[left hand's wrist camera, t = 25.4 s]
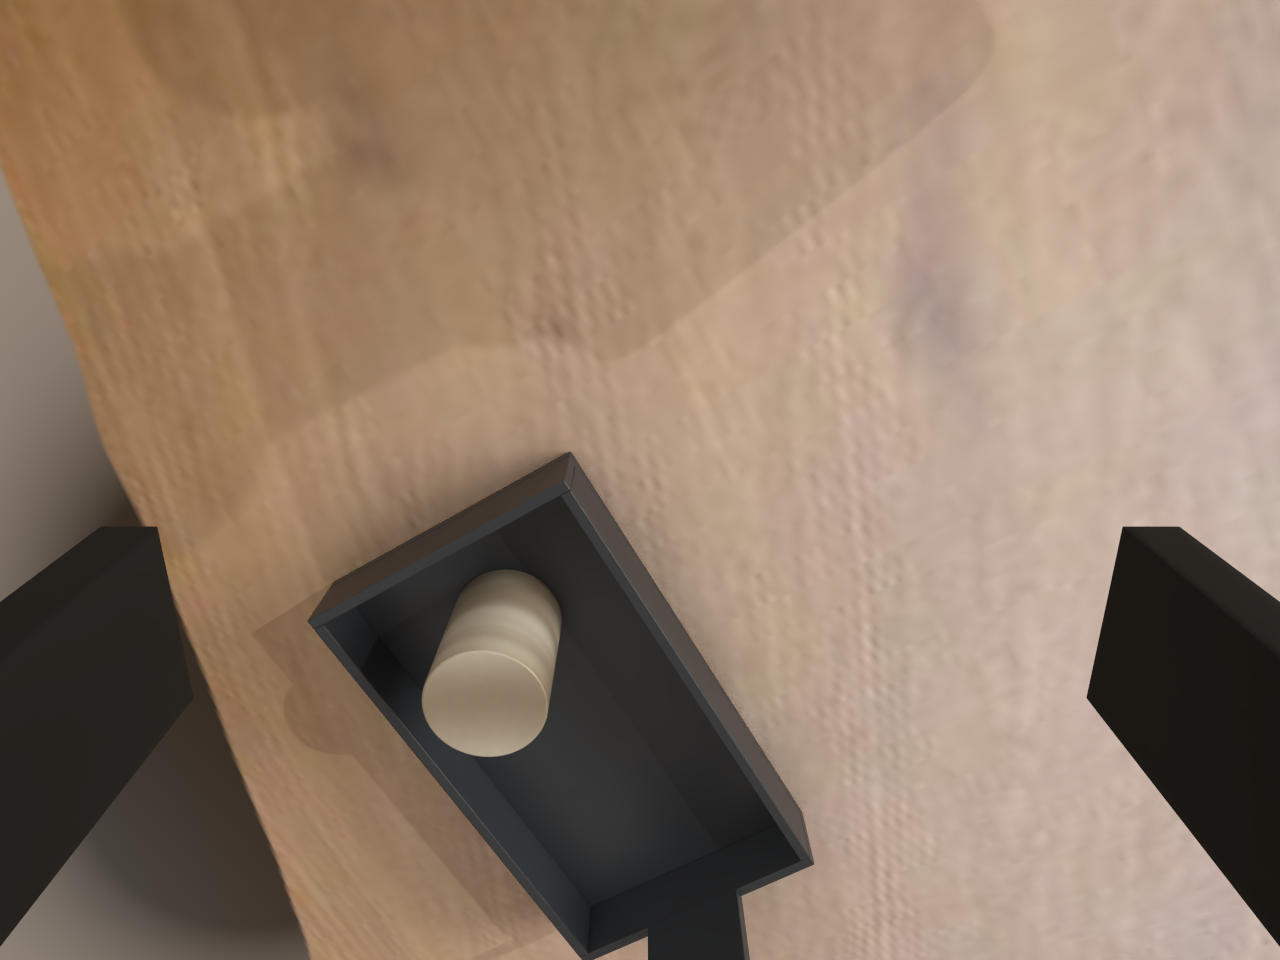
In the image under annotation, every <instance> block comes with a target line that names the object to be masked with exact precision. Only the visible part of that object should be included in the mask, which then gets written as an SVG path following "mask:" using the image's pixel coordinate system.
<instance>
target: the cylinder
mask: <svg viewBox="0 0 1280 960" xmlns="http://www.w3.org/2000/svg"><path fill="white" fill-rule="evenodd" d="M561 626H562V613H561V608H560V605H559V602H558V600H557V598H556V596H555V595H554V593H553V592H552V591H551V590H550V588H549V587H548V586H547V585H546V584H545V583H543V582H542V581H541V580H539V579H538V578H536V577H534V576H532V575H530V574H528V573H525V572H521V571H517V570H508V569H503V570H495V571H490V572H487V573H484V574H482V575H480V576H478V577H476V578H475V579H473V580H472V581H470V582H469V583H468V584H467V585H466V586H465V587H464V588H463V590H462V591H461V593H460V594H459V597H458V599H457V601H456V604H455V606H454V609H453V612H452V614H451V617H450V619H449V622H448V624H447V627H446V630H445V632H444V635H443V637H442V640H441V643H440V645H439V648H438V650H437V653H436V656H435V658H434V661H433V663H432V666H431V668H430V671H429V674H428V676H427V679H426V681H425V684H424V687H423V691H422V709H423V713H424V716H425V719H426V721H427V723H428V725H429V727H430V728H431V729H432V731H433V732H434V733H435V734H436V735H437V736H438V738H440V739H441V740H442V741H443V742H444V743H446V744H447V745H449V746H450V747H452V748H454V749H456V750H458V751H461V752H463V753H466V754H470V755H474V756H480V757H497V756H503V755H507V754H510V753H513V752H516V751H518V750H520V749H522V748H523V747H525V746H527V745H528V744H529V743H530V742H532V741H533V740H534V739H535V738H536V737H537V736H538V734H539V733H540V731H541V730H542V728H543V726H544V724H545V722H546V719H547V714H548V708H549V702H550V695H551V689H552V683H553V676H554V670H555V664H556V657H557V651H558V645H559V638H560V632H561Z"/></svg>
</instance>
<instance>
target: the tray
mask: <svg viewBox="0 0 1280 960" xmlns="http://www.w3.org/2000/svg"><path fill="white" fill-rule="evenodd" d="M503 569H508V570H517V571H521V572H525V573H528V574H530V575H532V576H534V577H536V578H538V579H539V580H541V581H542V582H543V583H545V584H546V585H547V586H548V587H549V588H550V590H551V591H552V592H553V593H554V595H555V596H556V598H557V600H558V602H559V605H560V608H561V613H562V626H561V632H560V638H559V645H558V651H557V657H556V664H555V670H554V676H553V683H552V689H551V695H550V702H549V708H548V714H547V719H546V722H545V724H544V726H543V728H542V730H541V731H540V733H539V734H538V736H537V737H536V738H535V739H534V740H533V741H532V742H530V743H529V744H528V745H527V746H525V747H523V748H522V749H520V750H518V751H516V752H513V753H510V754H507V755H503V756H497V757H480V756H474V755H470V754H466V753H463V752H461V751H458V750H456V749H454V748H452V747H450V746H449V745H447V744H446V743H444V742H443V741H442V740H441V739H440V738H438V736H437V735H436V734H435V733H434V732H433V731H432V729H431V728H430V727H429V725H428V723H427V721H426V719H425V716H424V713H423V709H422V691H423V687H424V684H425V681H426V679H427V676H428V674H429V671H430V668H431V666H432V663H433V661H434V658H435V656H436V653H437V650H438V648H439V645H440V643H441V640H442V637H443V635H444V632H445V630H446V627H447V624H448V622H449V619H450V617H451V614H452V612H453V609H454V606H455V604H456V601H457V599H458V597H459V594H460V593H461V591H462V590H463V588H464V587H465V586H466V585H467V584H468V583H469V582H470V581H472V580H473V579H475V578H476V577H478V576H480V575H482V574H484V573H487V572H490V571H495V570H503ZM308 623H309V624H310V625H311V626H312V628H313V629H315V631H316V632H317V634H318V635H319V636H320V637H321V639H322V640H323V641H324V642H325V644H326V645H327V646H328V647H329V649H330V650H331V651H332V652H333V653H334V655H335V656H336V657H337V658H338V660H339V661H340V662H341V663H342V665H343V666H344V667H345V668H346V669H347V671H348V672H349V673H350V674H351V676H352V677H353V678H354V679H355V681H356V682H357V683H358V684H359V685H360V687H361V688H362V689H363V690H364V692H365V693H366V694H367V695H368V697H369V698H370V699H371V700H372V702H373V703H374V704H375V705H376V706H377V708H378V709H379V710H380V711H381V713H382V714H383V715H384V716H385V718H386V719H387V720H388V721H389V722H390V724H391V725H392V726H393V727H394V729H395V730H396V731H397V732H398V734H399V735H400V736H401V737H402V739H403V740H404V741H405V742H406V743H407V745H408V746H409V747H410V748H411V750H412V751H413V752H414V753H415V755H416V756H417V757H418V758H419V759H420V761H421V762H422V763H423V764H424V766H425V767H426V768H427V769H428V771H429V772H430V773H431V774H432V776H433V777H434V778H435V779H436V780H437V782H438V783H439V784H440V785H441V787H442V788H443V789H444V790H445V792H446V793H447V794H448V795H449V796H450V798H451V799H452V800H453V801H454V803H455V804H456V805H457V806H458V808H459V809H460V810H461V811H462V812H463V814H464V815H465V816H466V817H467V819H468V820H469V821H470V822H471V824H472V825H473V826H474V827H475V829H476V830H477V831H478V832H479V833H480V835H481V836H482V837H483V838H484V840H485V841H486V842H487V843H488V845H489V846H490V847H491V848H492V849H493V851H494V852H495V853H496V854H497V856H498V857H499V858H500V859H501V861H502V862H503V863H504V864H505V866H506V867H507V868H508V869H509V870H510V872H511V873H512V874H513V875H514V877H515V878H516V879H517V880H518V882H519V883H520V884H521V885H522V886H523V888H524V889H525V890H526V891H527V893H528V894H529V895H530V896H531V898H532V899H533V900H534V901H535V903H536V904H537V905H538V906H539V907H540V909H541V910H542V911H543V912H544V914H545V915H546V916H547V917H548V919H549V920H550V921H551V922H552V923H553V925H554V926H555V927H556V928H557V930H558V931H559V932H560V933H561V935H562V936H563V937H564V938H565V939H566V941H567V942H568V943H569V944H570V946H571V947H572V948H573V949H574V951H575V952H576V953H577V954H578V956H579V957H580V958H581V959H582V960H594V959H596V958H598V957H601V956H603V955H605V954H608V953H610V952H612V951H615V950H617V949H619V948H622V947H624V946H626V945H628V944H631V943H633V942H635V941H638V940H640V939H642V938H645V937H647V936H648V960H750V958H749V950H748V943H747V935H746V927H745V920H744V912H743V904H742V897H741V896H742V895H744V894H747V893H749V892H751V891H754V890H756V889H758V888H761V887H763V886H765V885H768V884H770V883H772V882H774V881H777V880H779V879H781V878H784V877H786V876H788V875H791V874H793V873H795V872H798V871H800V870H802V869H805V868H807V867H809V866H812V865H814V860H813V856H812V852H811V848H810V843H809V839H808V835H807V831H806V826H805V822H804V818H803V814H802V811H801V810H800V808H799V807H798V805H797V803H796V802H795V800H794V799H793V797H792V796H791V794H790V793H789V791H788V789H787V788H786V786H785V785H784V783H783V782H782V780H781V779H780V777H779V775H778V774H777V772H776V771H775V769H774V768H773V766H772V765H771V763H770V761H769V760H768V758H767V757H766V755H765V754H764V752H763V750H762V749H761V747H760V746H759V744H758V743H757V741H756V740H755V738H754V736H753V735H752V733H751V732H750V730H749V729H748V727H747V726H746V724H745V722H744V721H743V719H742V718H741V716H740V715H739V713H738V712H737V710H736V708H735V707H734V705H733V704H732V702H731V701H730V699H729V698H728V696H727V694H726V693H725V691H724V690H723V688H722V687H721V685H720V683H719V682H718V680H717V679H716V677H715V676H714V674H713V673H712V671H711V669H710V668H709V666H708V665H707V663H706V662H705V660H704V659H703V657H702V655H701V654H700V652H699V651H698V649H697V648H696V646H695V645H694V643H693V641H692V640H691V638H690V637H689V635H688V634H687V632H686V630H685V629H684V627H683V626H682V624H681V623H680V621H679V620H678V618H677V616H676V615H675V613H674V612H673V610H672V609H671V607H670V606H669V604H668V602H667V601H666V599H665V598H664V596H663V595H662V593H661V592H660V590H659V588H658V587H657V585H656V584H655V582H654V581H653V579H652V578H651V576H650V574H649V573H648V571H647V570H646V568H645V567H644V565H643V563H642V562H641V560H640V559H639V557H638V556H637V554H636V553H635V551H634V549H633V548H632V546H631V545H630V543H629V542H628V540H627V539H626V537H625V535H624V534H623V532H622V531H621V529H620V528H619V526H618V525H617V523H616V521H615V520H614V518H613V517H612V515H611V514H610V512H609V511H608V509H607V507H606V506H605V504H604V503H603V501H602V500H601V498H600V496H599V495H598V493H597V492H596V490H595V489H594V487H593V486H592V484H591V482H590V481H589V479H588V478H587V476H586V475H585V473H584V472H583V470H582V468H581V467H580V465H579V464H578V462H577V461H576V459H575V458H574V456H573V454H572V453H571V452H568V453H566V454H564V455H563V456H561V457H559V458H557V459H555V460H554V461H552V462H550V463H548V464H546V465H545V466H543V467H541V468H539V469H537V470H536V471H534V472H532V473H530V474H528V475H527V476H525V477H523V478H521V479H519V480H517V481H516V482H514V483H512V484H510V485H508V486H507V487H505V488H503V489H501V490H499V491H498V492H496V493H494V494H492V495H490V496H489V497H487V498H485V499H483V500H481V501H480V502H478V503H476V504H474V505H472V506H470V507H469V508H467V509H465V510H463V511H461V512H460V513H458V514H456V515H454V516H452V517H451V518H449V519H447V520H445V521H443V522H442V523H440V524H438V525H436V526H434V527H433V528H431V529H429V530H427V531H425V532H424V533H422V534H420V535H418V536H416V537H414V538H413V539H411V540H409V541H407V542H405V543H404V544H402V545H400V546H398V547H396V548H395V549H393V550H391V551H389V552H387V553H386V554H384V555H382V556H380V557H378V558H377V559H375V560H373V561H371V562H369V563H367V564H366V565H364V566H362V567H360V568H358V569H357V570H355V571H353V572H351V573H349V574H348V575H346V576H344V577H342V578H340V579H339V580H337V581H335V582H334V583H333V584H332V585H331V587H330V588H329V590H328V591H327V593H326V594H325V596H324V597H323V599H322V600H321V602H320V603H319V605H318V606H317V608H316V609H315V611H314V612H313V614H312V615H311V617H310V618H309V620H308Z"/></svg>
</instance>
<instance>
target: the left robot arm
mask: <svg viewBox="0 0 1280 960" xmlns="http://www.w3.org/2000/svg"><path fill="white" fill-rule="evenodd" d="M192 699H193V694H192V689H191V684H190V680H189V675H188V670H187V665H186V661H185V656H184V651H183V646H182V642H181V637H180V632H179V628H178V623H177V618H176V613H175V609H174V604H173V599H172V594H171V590H170V585H169V580H168V576H167V571H166V566H165V561H164V557H163V552H162V547H161V542H160V538H159V533H158V528H157V527H100V528H98V529H97V530H96V531H94V532H93V533H92V534H90V535H89V536H88V537H86V538H85V539H84V540H82V541H81V542H80V543H78V544H77V545H76V546H74V547H73V548H72V549H70V550H69V551H68V552H66V553H65V554H64V555H62V556H61V557H60V558H58V559H57V560H56V561H54V562H53V563H52V564H50V565H49V566H48V567H46V568H45V569H44V570H42V571H41V572H40V573H38V574H37V575H36V576H34V577H33V578H32V579H30V580H29V581H28V582H26V583H25V584H24V585H22V586H21V587H20V588H18V589H17V590H16V591H14V592H13V593H12V594H10V595H9V596H8V597H6V598H5V599H4V600H2V601H1V602H0V946H1V945H2V944H3V942H4V941H5V940H6V938H7V937H8V936H9V934H10V933H11V932H12V931H13V929H14V928H15V927H16V926H17V924H18V923H19V922H20V920H21V919H22V918H23V916H24V915H25V914H26V913H27V911H28V910H29V909H30V908H31V906H32V905H33V904H34V902H35V901H36V900H37V899H38V897H39V896H40V895H41V893H42V892H43V891H44V890H45V888H46V887H47V886H48V884H49V883H50V882H51V881H52V879H53V878H54V877H55V875H56V874H57V873H58V871H59V870H60V869H61V868H62V866H63V865H64V864H65V862H66V861H67V860H68V859H69V857H70V856H71V855H72V853H73V852H74V851H75V850H76V848H77V847H78V846H79V844H80V843H81V842H82V841H83V839H84V838H85V837H86V835H87V834H88V833H89V832H90V830H91V829H92V828H93V826H94V825H95V824H96V823H97V821H98V820H99V819H100V817H101V816H102V815H103V814H104V812H105V811H106V810H107V808H108V807H109V806H110V805H111V803H112V802H113V801H114V799H115V798H116V797H117V796H118V794H119V793H120V792H121V790H122V789H123V788H124V787H125V785H126V784H127V783H128V781H129V780H130V779H131V778H132V776H133V775H134V774H135V772H136V771H137V770H138V769H139V767H140V766H141V765H142V763H143V762H144V761H145V760H146V758H147V757H148V756H149V754H150V753H151V752H152V750H153V749H154V748H155V747H156V745H157V744H158V743H159V742H160V740H161V739H162V738H163V736H164V735H165V734H166V733H167V731H168V730H169V729H170V727H171V726H172V725H173V723H174V722H175V721H176V720H177V718H178V717H179V716H180V715H181V713H182V712H183V711H184V709H185V708H186V707H187V706H188V704H189V703H190V702H191V700H192ZM1087 699H1088V700H1089V702H1090V703H1091V704H1092V706H1093V707H1094V708H1095V709H1096V711H1097V712H1098V713H1099V715H1100V716H1101V717H1102V718H1103V720H1104V721H1105V722H1106V724H1107V725H1108V726H1109V727H1110V729H1111V730H1112V731H1113V733H1114V734H1115V735H1116V736H1117V738H1118V739H1119V740H1120V742H1121V743H1122V744H1123V745H1124V747H1125V748H1126V749H1127V751H1128V752H1129V753H1130V754H1131V756H1132V757H1133V758H1134V760H1135V761H1136V762H1137V763H1138V765H1139V766H1140V767H1141V769H1142V770H1143V771H1144V772H1145V774H1146V775H1147V776H1148V778H1149V779H1150V780H1151V781H1152V783H1153V784H1154V785H1155V787H1156V788H1157V789H1158V790H1159V792H1160V793H1161V794H1162V796H1163V797H1164V798H1165V799H1166V801H1167V802H1168V803H1169V805H1170V806H1171V807H1172V808H1173V810H1174V811H1175V812H1176V814H1177V815H1178V816H1179V817H1180V819H1181V820H1182V821H1183V823H1184V824H1185V825H1186V826H1187V828H1188V829H1189V830H1190V832H1191V833H1192V834H1193V835H1194V837H1195V838H1196V839H1197V841H1198V842H1199V843H1200V844H1201V846H1202V847H1203V848H1204V850H1205V851H1206V852H1207V853H1208V855H1209V856H1210V857H1211V859H1212V860H1213V861H1214V862H1215V864H1216V865H1217V866H1218V868H1219V869H1220V870H1221V871H1222V873H1223V874H1224V875H1225V877H1226V878H1227V879H1228V881H1229V882H1230V883H1231V884H1232V886H1233V887H1234V888H1235V890H1236V891H1237V892H1238V893H1239V895H1240V896H1241V897H1242V899H1243V900H1244V901H1245V902H1246V904H1247V905H1248V906H1249V908H1250V909H1251V910H1252V911H1253V913H1254V914H1255V915H1256V917H1257V918H1258V919H1259V920H1260V922H1261V923H1262V924H1263V926H1264V927H1265V928H1266V929H1267V931H1268V932H1269V933H1270V935H1271V936H1272V937H1273V938H1274V940H1275V941H1276V942H1277V944H1278V945H1279V946H1280V602H1279V601H1278V600H1276V599H1275V598H1274V597H1272V596H1271V595H1270V594H1268V593H1267V592H1266V591H1264V590H1263V589H1262V588H1260V587H1259V586H1258V585H1256V584H1255V583H1254V582H1252V581H1251V580H1250V579H1248V578H1247V577H1246V576H1244V575H1243V574H1242V573H1240V572H1239V571H1238V570H1236V569H1235V568H1234V567H1232V566H1231V565H1230V564H1228V563H1227V562H1226V561H1224V560H1223V559H1222V558H1220V557H1219V556H1218V555H1216V554H1215V553H1214V552H1212V551H1211V550H1210V549H1208V548H1207V547H1206V546H1204V545H1203V544H1202V543H1200V542H1199V541H1198V540H1196V539H1195V538H1194V537H1192V536H1191V535H1190V534H1188V533H1187V532H1186V531H1184V530H1183V529H1182V528H1180V527H1123V528H1122V533H1121V538H1120V542H1119V547H1118V552H1117V557H1116V561H1115V566H1114V571H1113V576H1112V580H1111V585H1110V590H1109V594H1108V599H1107V604H1106V609H1105V613H1104V618H1103V623H1102V627H1101V632H1100V637H1099V642H1098V646H1097V651H1096V656H1095V661H1094V665H1093V670H1092V675H1091V679H1090V684H1089V689H1088V694H1087Z"/></svg>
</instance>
